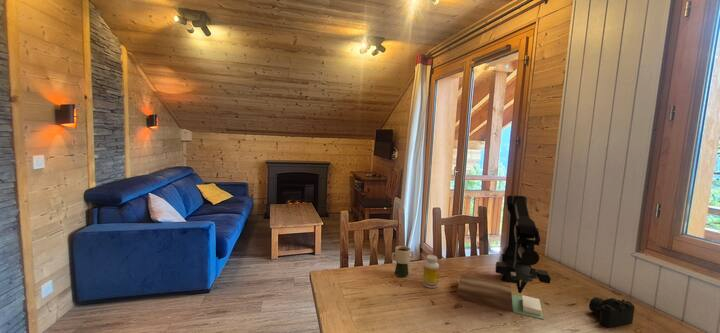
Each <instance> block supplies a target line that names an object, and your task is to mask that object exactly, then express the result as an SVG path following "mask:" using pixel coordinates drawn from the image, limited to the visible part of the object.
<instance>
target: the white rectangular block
mask: <svg viewBox="0 0 720 333" xmlns="http://www.w3.org/2000/svg"><path fill="white" fill-rule="evenodd" d="M522 307H523V311H525V312H528V313H532V314H536V315H540V316H541V311H542V306H541V300H540V299H539V298H536V297H533V296H532V297H531V296H527V295H524V294H522Z"/></svg>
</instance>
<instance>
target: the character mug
mask: <svg viewBox="0 0 720 333" xmlns="http://www.w3.org/2000/svg"><path fill="white" fill-rule="evenodd" d="M394 248H395V249H394V252H392V253H391V260H393V261H395V262H396V265H395V269H394V270H395V271H394V274H395V275H396V276H398V277H401V278H405V277H408V276H409V266H408V264H409V263H411V259H413V258H414V251H412V250H411V247H409V246H406V245H396V246H395V247H394Z"/></svg>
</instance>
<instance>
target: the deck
mask: <svg viewBox="0 0 720 333" xmlns="http://www.w3.org/2000/svg"><path fill="white" fill-rule="evenodd" d="M459 278H460V279H459V282H458V286H457V290H456V299H458V300H461V301H467V302H470V303H475V304H478V305H483V306H487V307H490V308H495V309H499V310H502V311H507V312H513V308H512V294H513V293H512V285H510V284H504V283H500V282H495V281H491V280H487V279H482V278H477V277H472V276H468V275H462V274H460V277H459Z"/></svg>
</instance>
